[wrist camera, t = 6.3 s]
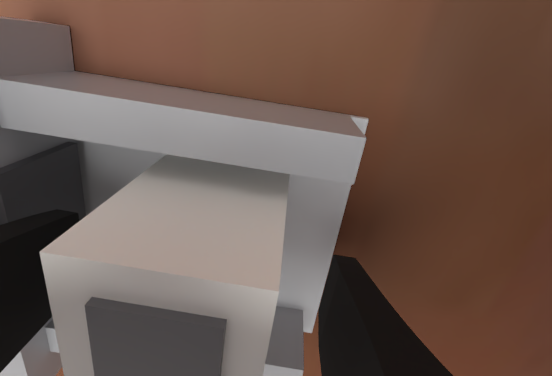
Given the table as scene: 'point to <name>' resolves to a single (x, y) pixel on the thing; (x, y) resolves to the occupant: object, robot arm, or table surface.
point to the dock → (155, 145)
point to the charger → (172, 274)
